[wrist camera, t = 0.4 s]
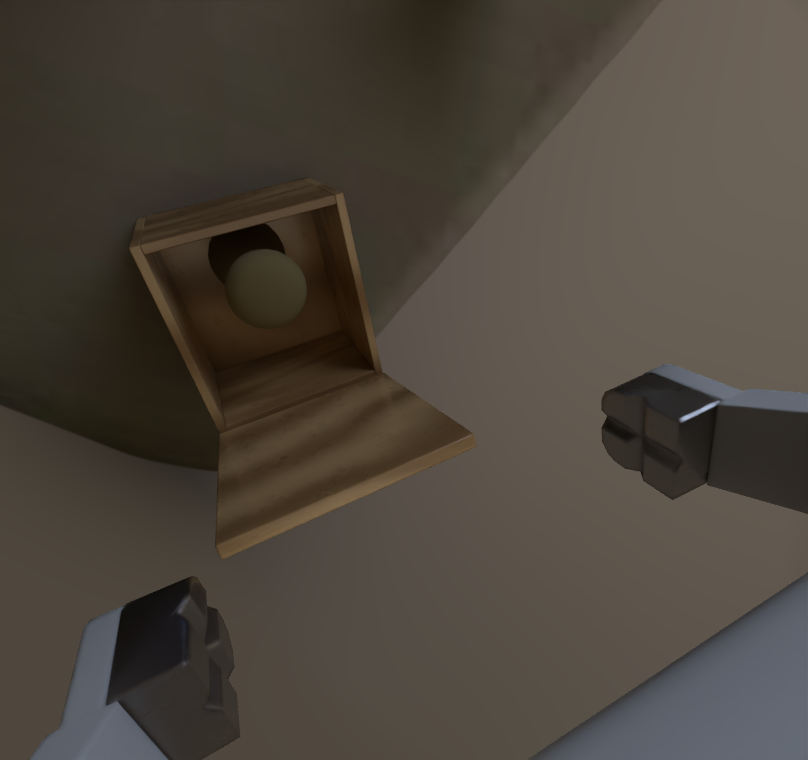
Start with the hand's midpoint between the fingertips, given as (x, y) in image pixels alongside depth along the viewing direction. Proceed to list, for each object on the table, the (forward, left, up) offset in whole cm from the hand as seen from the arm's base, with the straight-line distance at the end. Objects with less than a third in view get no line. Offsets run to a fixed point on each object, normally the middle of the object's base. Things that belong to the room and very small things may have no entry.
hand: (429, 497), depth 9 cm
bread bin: (+6, 0, -35) cm, 36 cm away
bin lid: (+11, 0, -18) cm, 21 cm away
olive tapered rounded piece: (+4, 0, -35) cm, 35 cm away
